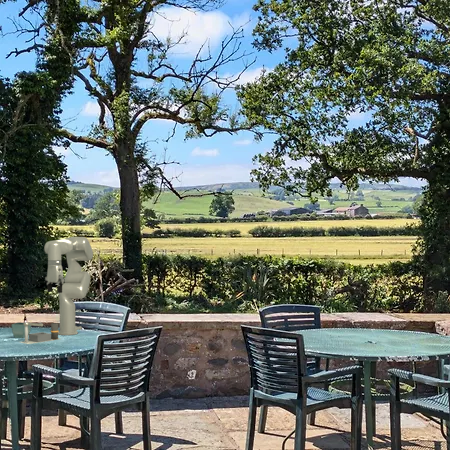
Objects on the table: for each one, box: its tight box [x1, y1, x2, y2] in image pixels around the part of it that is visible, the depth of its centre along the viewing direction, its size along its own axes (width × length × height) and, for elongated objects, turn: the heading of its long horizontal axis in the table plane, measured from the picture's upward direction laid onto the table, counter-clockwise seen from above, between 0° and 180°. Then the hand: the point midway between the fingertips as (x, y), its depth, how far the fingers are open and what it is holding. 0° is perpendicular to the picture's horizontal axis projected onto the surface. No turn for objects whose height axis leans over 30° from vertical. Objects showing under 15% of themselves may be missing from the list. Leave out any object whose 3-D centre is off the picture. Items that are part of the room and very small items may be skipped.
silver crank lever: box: [23, 321, 44, 327], centre depth 397 cm, size 13×3×2 cm, turn 64°
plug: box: [50, 322, 60, 340], centre depth 413 cm, size 5×5×9 cm
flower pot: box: [11, 321, 32, 339], centre depth 418 cm, size 9×9×9 cm
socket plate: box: [19, 326, 54, 345], centre depth 404 cm, size 17×10×10 cm, turn 139°
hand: (54, 292), depth 413 cm, fingers open, 9 cm apart
